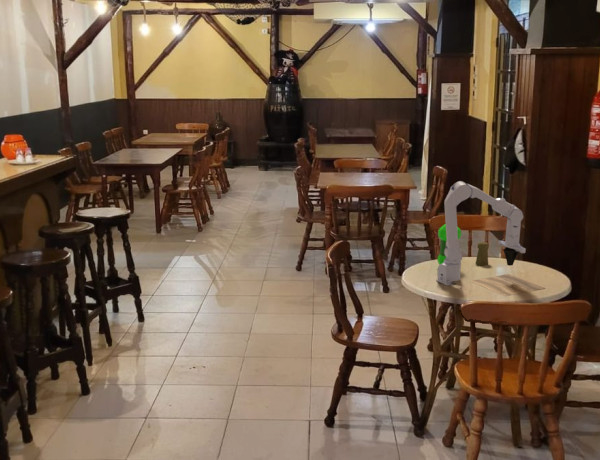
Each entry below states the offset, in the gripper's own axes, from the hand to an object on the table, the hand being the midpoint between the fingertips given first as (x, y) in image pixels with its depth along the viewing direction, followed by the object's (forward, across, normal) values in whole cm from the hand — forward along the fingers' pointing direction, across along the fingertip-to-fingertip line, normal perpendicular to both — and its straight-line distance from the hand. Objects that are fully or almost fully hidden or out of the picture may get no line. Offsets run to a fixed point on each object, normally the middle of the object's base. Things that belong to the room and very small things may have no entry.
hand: (510, 265), depth 291 cm
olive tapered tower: (+8, +27, -8) cm, 29 cm away
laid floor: (+8, -5, +10) cm, 14 cm away
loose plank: (+8, -5, -1) cm, 10 cm away
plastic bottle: (+8, +30, +10) cm, 32 cm away
